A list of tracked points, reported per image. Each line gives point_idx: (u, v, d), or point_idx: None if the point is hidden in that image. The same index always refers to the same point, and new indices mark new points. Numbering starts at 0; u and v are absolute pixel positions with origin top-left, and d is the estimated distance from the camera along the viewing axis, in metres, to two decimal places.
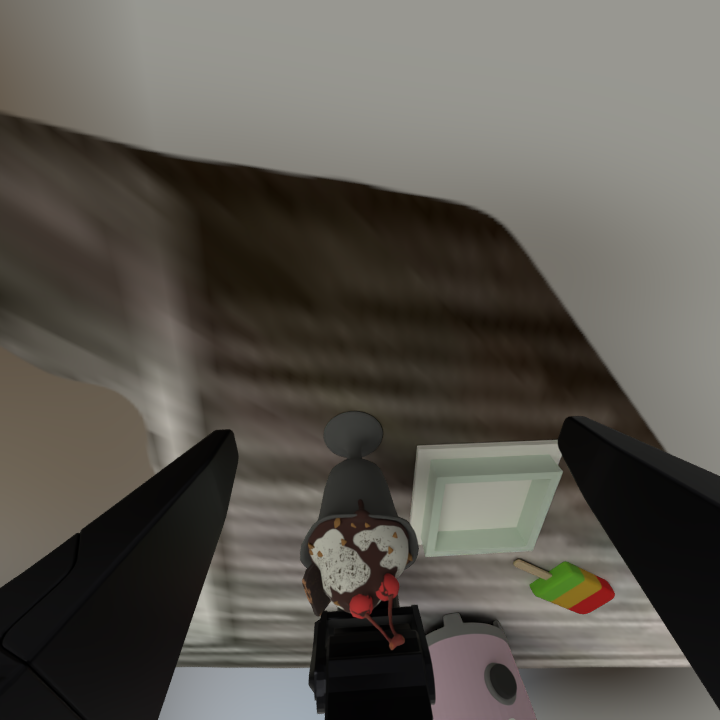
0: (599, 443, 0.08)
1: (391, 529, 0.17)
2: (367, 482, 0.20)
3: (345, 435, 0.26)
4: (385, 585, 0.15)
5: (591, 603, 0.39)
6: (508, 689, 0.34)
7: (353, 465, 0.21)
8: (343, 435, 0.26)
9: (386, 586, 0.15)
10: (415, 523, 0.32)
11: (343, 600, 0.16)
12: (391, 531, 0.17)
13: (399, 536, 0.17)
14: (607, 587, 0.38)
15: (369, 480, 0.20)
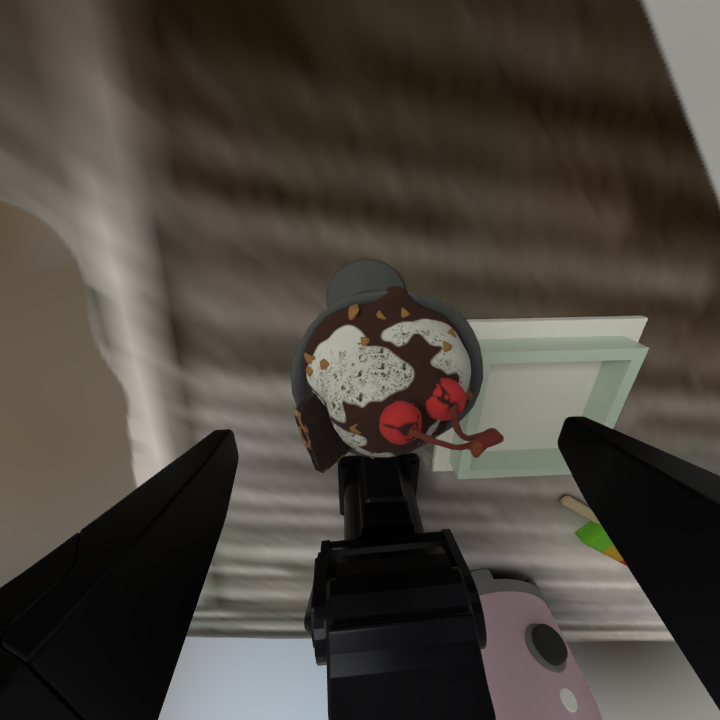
0: (599, 443, 0.08)
1: (445, 325, 0.10)
2: None
3: (356, 292, 0.19)
4: (444, 387, 0.08)
5: None
6: (557, 653, 0.27)
7: (372, 290, 0.14)
8: (354, 292, 0.19)
9: (446, 388, 0.08)
10: (443, 439, 0.25)
11: (367, 418, 0.09)
12: (445, 326, 0.10)
13: (457, 338, 0.10)
14: None
15: None
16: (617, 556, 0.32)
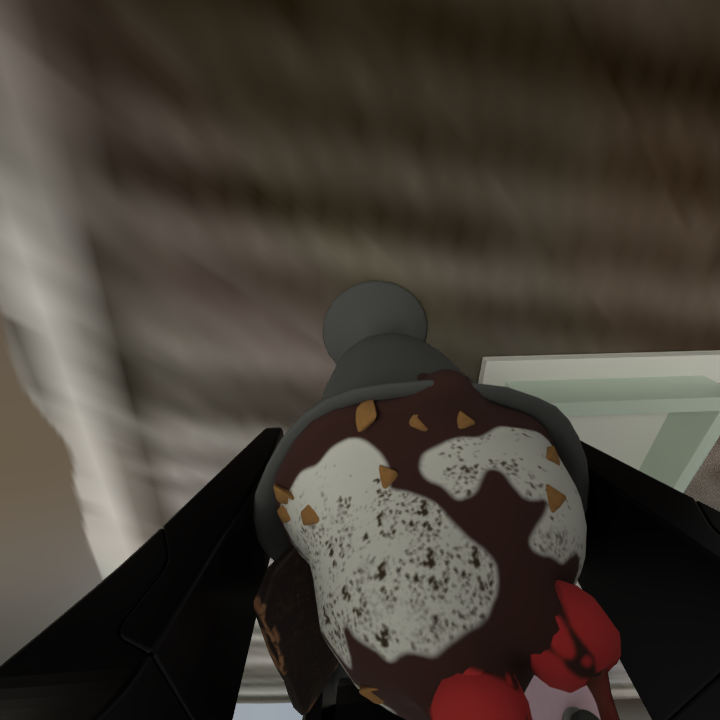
0: None
1: (537, 438, 0.05)
2: (430, 355, 0.08)
3: (362, 324, 0.14)
4: (577, 630, 0.04)
5: None
6: None
7: (388, 337, 0.10)
8: (358, 325, 0.14)
9: (583, 635, 0.04)
10: None
11: (400, 688, 0.04)
12: (539, 442, 0.05)
13: (560, 462, 0.05)
14: None
15: (431, 355, 0.08)
16: None
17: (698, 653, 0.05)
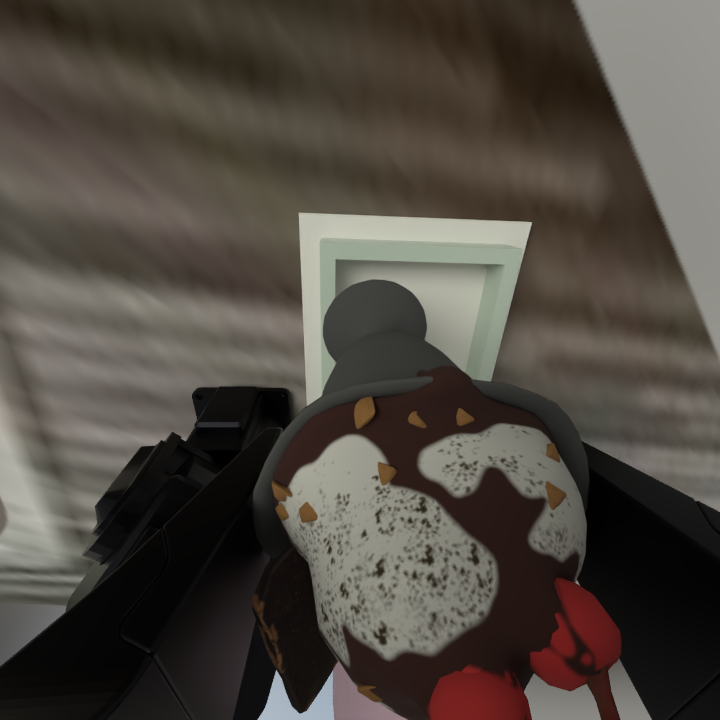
0: None
1: (537, 436, 0.05)
2: (429, 353, 0.08)
3: (361, 323, 0.14)
4: (576, 628, 0.04)
5: None
6: None
7: (388, 335, 0.10)
8: (358, 323, 0.14)
9: (583, 632, 0.04)
10: (312, 369, 0.22)
11: (398, 686, 0.04)
12: (539, 439, 0.05)
13: (560, 459, 0.05)
14: None
15: (431, 352, 0.08)
16: None
17: (698, 653, 0.05)
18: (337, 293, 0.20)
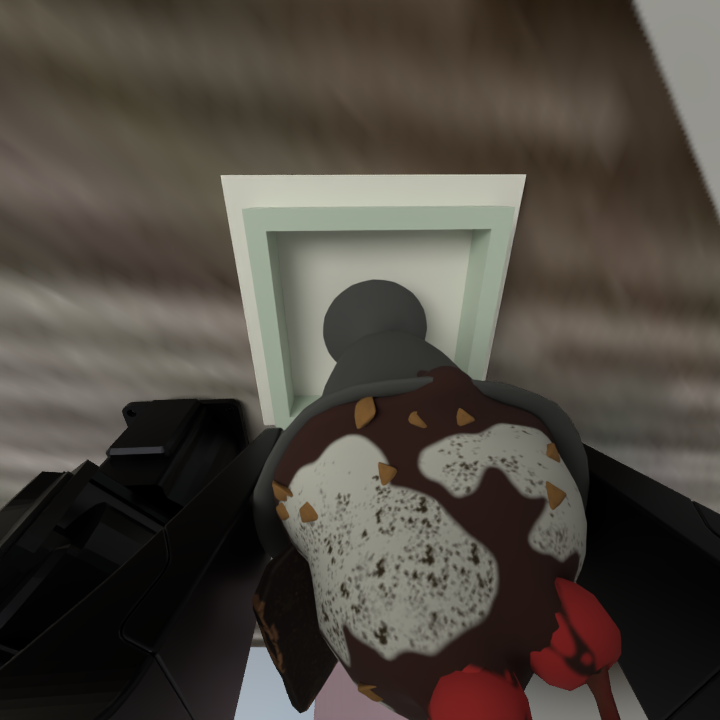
0: None
1: (537, 435, 0.05)
2: (429, 353, 0.08)
3: (362, 323, 0.14)
4: (577, 627, 0.04)
5: None
6: None
7: (388, 335, 0.10)
8: (359, 324, 0.14)
9: (583, 632, 0.04)
10: (264, 375, 0.18)
11: (398, 686, 0.04)
12: (538, 439, 0.05)
13: (560, 459, 0.05)
14: None
15: (431, 352, 0.08)
16: None
17: (694, 654, 0.05)
18: (283, 279, 0.16)
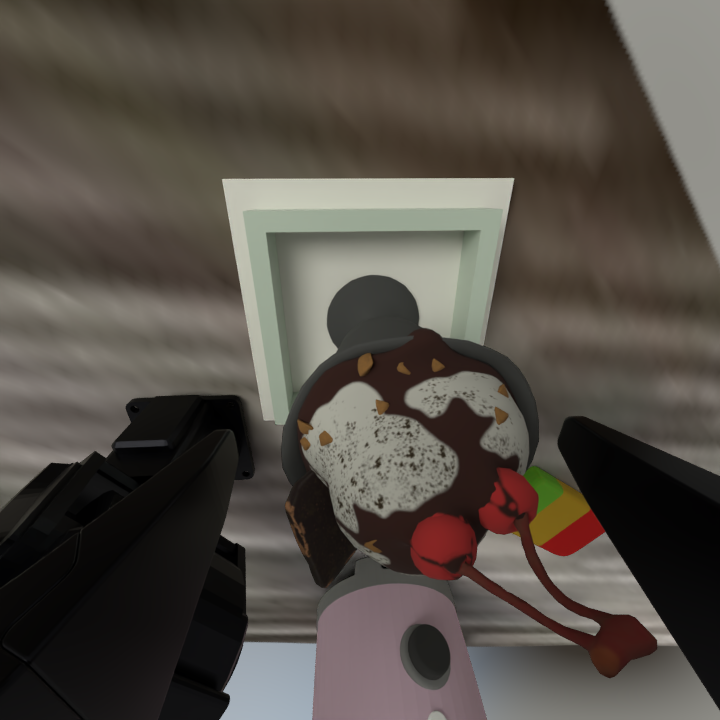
0: (599, 443, 0.08)
1: (492, 380, 0.07)
2: (416, 329, 0.10)
3: (361, 313, 0.16)
4: (507, 489, 0.06)
5: (576, 537, 0.26)
6: (434, 663, 0.20)
7: (383, 318, 0.12)
8: (358, 314, 0.16)
9: (511, 491, 0.06)
10: (263, 371, 0.18)
11: (391, 534, 0.06)
12: (493, 382, 0.07)
13: (510, 397, 0.07)
14: None
15: None
16: (534, 539, 0.26)
17: None
18: (282, 278, 0.16)
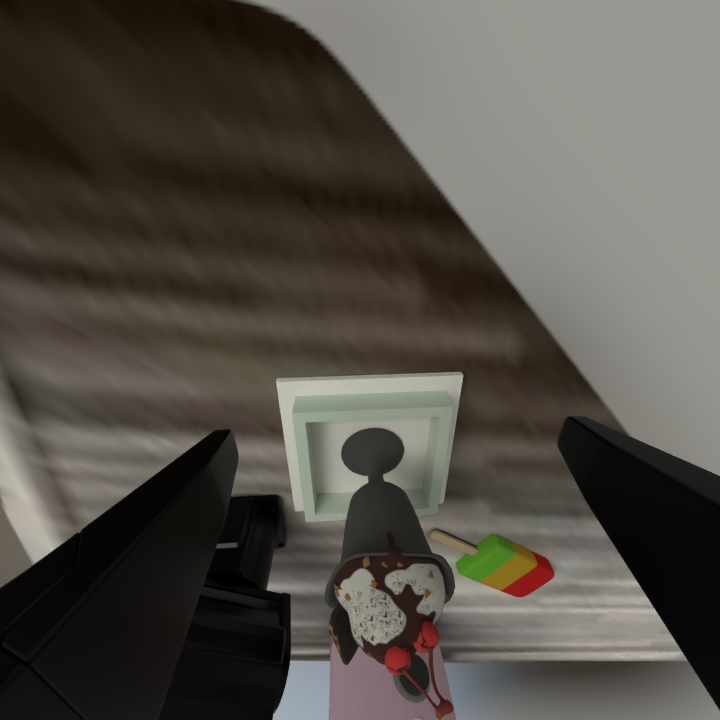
0: (599, 443, 0.08)
1: (426, 568, 0.15)
2: (395, 510, 0.18)
3: (364, 453, 0.24)
4: (424, 636, 0.14)
5: (527, 584, 0.34)
6: None
7: (377, 490, 0.20)
8: (362, 453, 0.24)
9: (425, 637, 0.14)
10: (296, 482, 0.26)
11: (377, 652, 0.14)
12: (426, 570, 0.15)
13: (435, 575, 0.15)
14: (544, 564, 0.33)
15: (396, 508, 0.18)
16: (495, 585, 0.34)
17: None
18: (311, 430, 0.24)
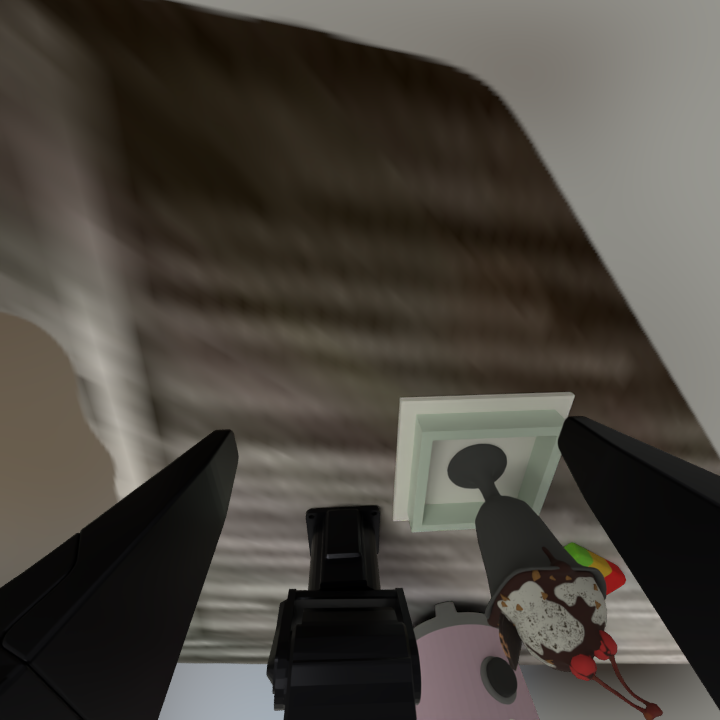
0: (599, 443, 0.08)
1: (590, 581, 0.17)
2: (537, 526, 0.19)
3: (474, 468, 0.25)
4: (606, 644, 0.15)
5: None
6: (507, 686, 0.30)
7: (510, 505, 0.21)
8: (472, 468, 0.26)
9: (607, 645, 0.15)
10: (400, 494, 0.28)
11: (560, 659, 0.15)
12: (591, 583, 0.17)
13: (597, 588, 0.17)
14: (617, 571, 0.34)
15: (536, 523, 0.20)
16: None
17: None
18: None
